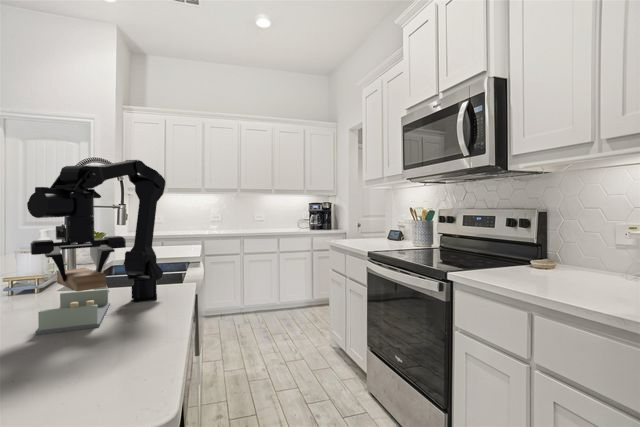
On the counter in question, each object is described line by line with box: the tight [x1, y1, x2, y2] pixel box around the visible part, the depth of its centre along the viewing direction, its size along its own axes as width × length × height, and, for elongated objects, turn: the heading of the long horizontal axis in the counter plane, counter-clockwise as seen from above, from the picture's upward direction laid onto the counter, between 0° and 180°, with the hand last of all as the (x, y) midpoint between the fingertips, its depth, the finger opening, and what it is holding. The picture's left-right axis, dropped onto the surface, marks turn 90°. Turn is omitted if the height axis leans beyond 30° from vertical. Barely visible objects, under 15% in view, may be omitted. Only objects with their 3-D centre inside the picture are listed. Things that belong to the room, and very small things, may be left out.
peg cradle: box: [34, 288, 111, 336], centre depth 86 cm, size 12×20×5 cm, turn 26°
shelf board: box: [56, 267, 107, 292], centre depth 83 cm, size 14×6×3 cm, turn 53°
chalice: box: [89, 237, 111, 293], centre depth 114 cm, size 7×7×18 cm
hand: (81, 279), depth 84 cm, fingers closed on shelf board, 6 cm apart
